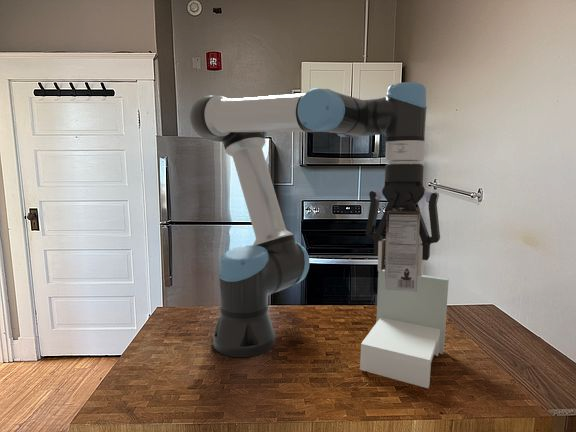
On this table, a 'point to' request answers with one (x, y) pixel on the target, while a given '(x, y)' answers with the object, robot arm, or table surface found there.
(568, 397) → the table surface
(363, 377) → the table surface
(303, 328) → the table surface
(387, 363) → the white toy chair
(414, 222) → the coffee box
